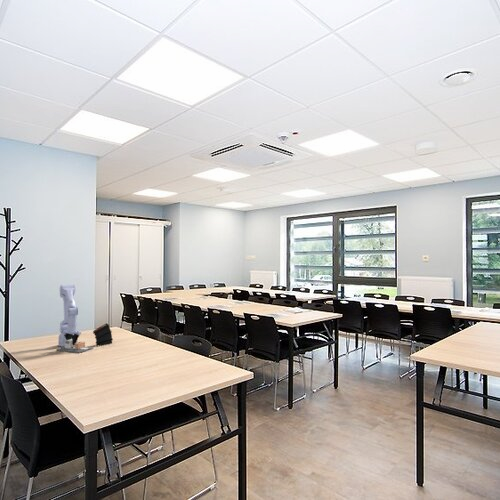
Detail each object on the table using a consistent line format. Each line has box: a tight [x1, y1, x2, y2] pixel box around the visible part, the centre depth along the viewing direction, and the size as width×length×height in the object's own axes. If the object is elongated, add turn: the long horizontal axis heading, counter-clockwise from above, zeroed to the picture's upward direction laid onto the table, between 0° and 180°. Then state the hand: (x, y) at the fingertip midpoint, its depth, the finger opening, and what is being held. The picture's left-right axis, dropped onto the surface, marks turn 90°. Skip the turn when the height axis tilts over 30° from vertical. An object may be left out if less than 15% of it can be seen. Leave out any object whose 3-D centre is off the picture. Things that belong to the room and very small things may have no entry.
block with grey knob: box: [75, 341, 86, 349], centre depth 244 cm, size 3×6×4 cm, turn 161°
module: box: [65, 339, 79, 349], centre depth 246 cm, size 4×7×5 cm, turn 161°
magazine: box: [92, 323, 114, 346], centre depth 263 cm, size 4×13×15 cm, turn 133°
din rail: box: [56, 345, 94, 354], centre depth 245 cm, size 20×12×3 cm, turn 71°
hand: (71, 344), depth 246 cm, fingers closed on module, 4 cm apart
